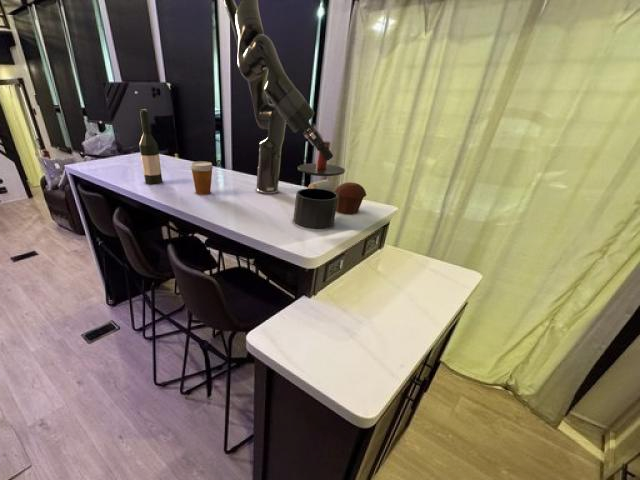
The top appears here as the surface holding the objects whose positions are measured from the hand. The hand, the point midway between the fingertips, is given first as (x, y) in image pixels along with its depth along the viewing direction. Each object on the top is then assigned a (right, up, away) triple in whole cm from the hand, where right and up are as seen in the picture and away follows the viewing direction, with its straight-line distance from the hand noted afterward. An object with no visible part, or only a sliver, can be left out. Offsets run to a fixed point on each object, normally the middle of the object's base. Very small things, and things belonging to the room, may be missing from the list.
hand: (329, 157), depth 95 cm
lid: (-2, -3, +2) cm, 4 cm away
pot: (-2, -17, +12) cm, 21 cm away
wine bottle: (-69, +12, +54) cm, 88 cm away
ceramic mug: (+6, -3, +34) cm, 34 cm away
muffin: (+13, -10, +24) cm, 29 cm away
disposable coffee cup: (-44, +3, +41) cm, 60 cm away
